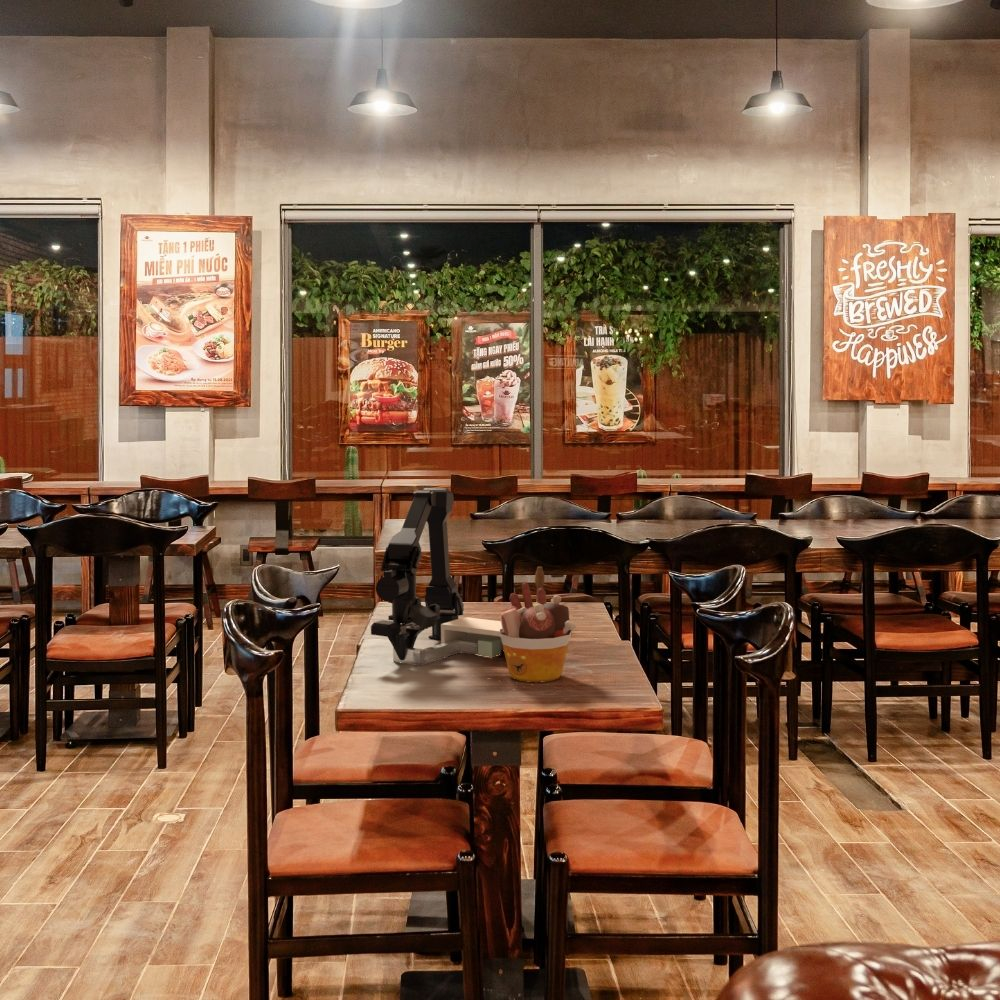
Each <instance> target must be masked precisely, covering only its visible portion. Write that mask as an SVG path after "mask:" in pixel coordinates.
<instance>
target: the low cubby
mask: <svg viewBox="0 0 1000 1000" xmlns="http://www.w3.org/2000/svg"><path fill="white" fill-rule="evenodd" d="M500 629H502V625H501V620H493V619H487V618H486V619H484V618H478V617H477V618H475V617H467V616H464V617H460V618H458V619H457V620H453V621H450V622H447V623H443V624H441V639H440V644H442V643H445V642H449V641H452V640H455V639H465V640H473V641H478V640H481V639H484V638H487V637H488V638H496V639H501V636H500ZM501 650H504V648H503V643H502V640H501Z"/></svg>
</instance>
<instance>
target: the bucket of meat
mask: <svg viewBox="0 0 1000 1000" xmlns="http://www.w3.org/2000/svg"><path fill="white" fill-rule="evenodd" d="M520 588H521V593H522V599H523V603H524V604H523V605H524V606H522V604H521V601H520V598H519V595H518V594H516V593H515V592H512V593H510V595H509V601H510V604H511V605H509V606H508V607H506V608H505V609H504V610H503V612H500V621H501V625H502V629H500V636H501V640H502V643H503V648H504V651H503V652H504V656H505V661H506V666H507V670H508V675H509V676H510V677H511V678H512V679H513V678H515V679H517V680H516V681H518V680H520V681H519V682H521V681H530V682H541V681H550V682H552V681H551V680H554V681H556V680H555V679H557V680H559V678H560V677H561V675H562V674H563V671H564V668H565V667H564V666H565V662H566V657H567V653H568V648H569V643H570V639H571V636H572V631H574V630H575V629H576V628H577V626H576V624H575V623H574V622H572V621H570V609H569V606H566V605H563V604H560V603H561V601H562V596H560V595H558V594H556V595H553V597H552V598H551V599H550V603H549V602H547V592H546V590H545V589H544V587H543V588H540V589H538V591H537V590H536V597H537V598H536V599H537V600H538V604H536V605H535V606H534V607H533V604H534V603H533V599H532V595H531V588H530V585H529V584H528V583H527V582H522V584H521V586H520ZM515 679H514V680H515Z"/></svg>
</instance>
